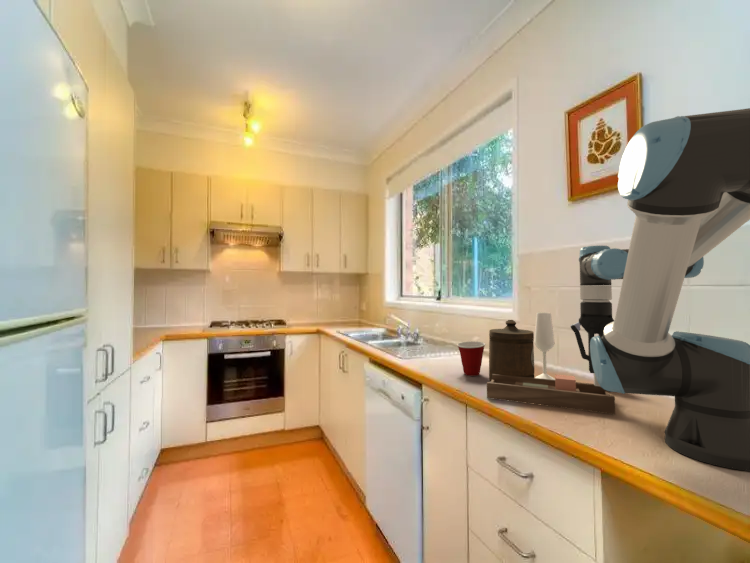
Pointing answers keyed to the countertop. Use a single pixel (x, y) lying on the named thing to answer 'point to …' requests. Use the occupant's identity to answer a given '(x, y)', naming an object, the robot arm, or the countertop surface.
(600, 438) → the countertop surface
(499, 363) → the wooden container
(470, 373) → the plastic cup
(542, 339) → the champagne flute
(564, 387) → the block
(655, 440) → the countertop surface
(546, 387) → the box
